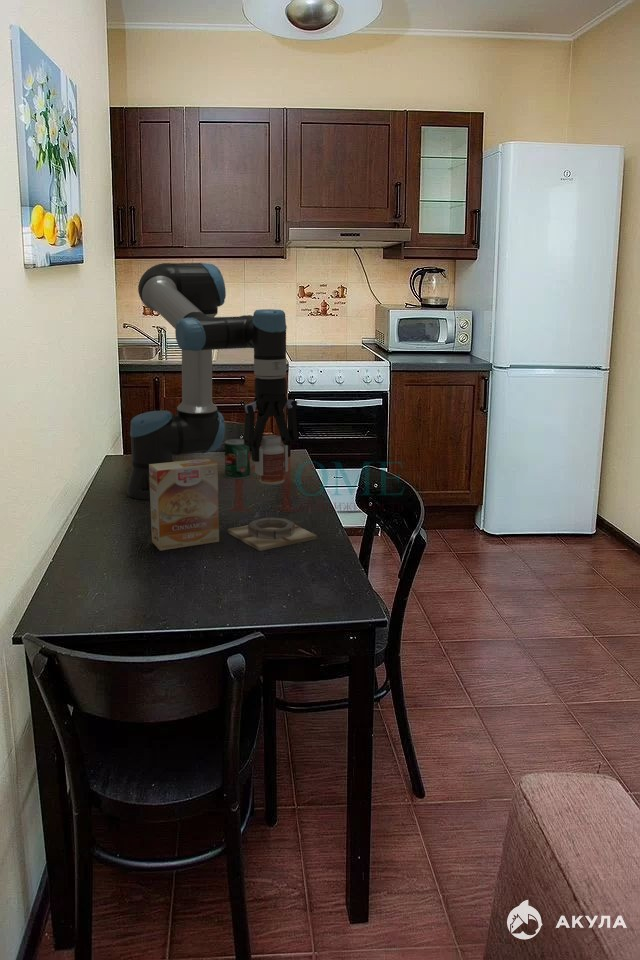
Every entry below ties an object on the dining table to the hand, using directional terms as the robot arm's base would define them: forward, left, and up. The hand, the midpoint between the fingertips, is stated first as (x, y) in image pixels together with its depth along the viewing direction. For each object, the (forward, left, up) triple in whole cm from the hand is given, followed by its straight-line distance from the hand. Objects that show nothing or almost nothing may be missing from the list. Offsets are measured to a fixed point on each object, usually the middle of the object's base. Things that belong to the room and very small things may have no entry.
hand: (271, 472), depth 204 cm
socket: (0, 0, -16) cm, 16 cm away
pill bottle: (0, 0, -3) cm, 3 cm away
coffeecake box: (-7, -20, -16) cm, 27 cm away
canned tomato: (-57, +21, -16) cm, 63 cm away
